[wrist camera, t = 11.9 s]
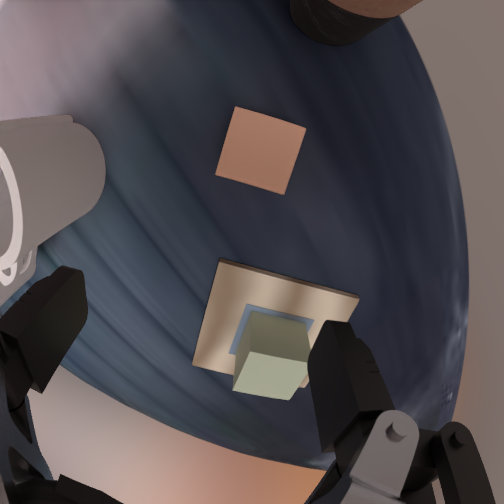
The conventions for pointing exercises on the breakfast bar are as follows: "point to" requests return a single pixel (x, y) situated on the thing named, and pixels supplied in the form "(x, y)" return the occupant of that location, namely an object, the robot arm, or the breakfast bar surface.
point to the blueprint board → (261, 310)
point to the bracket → (42, 188)
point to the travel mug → (344, 17)
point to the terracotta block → (260, 150)
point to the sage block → (271, 356)
